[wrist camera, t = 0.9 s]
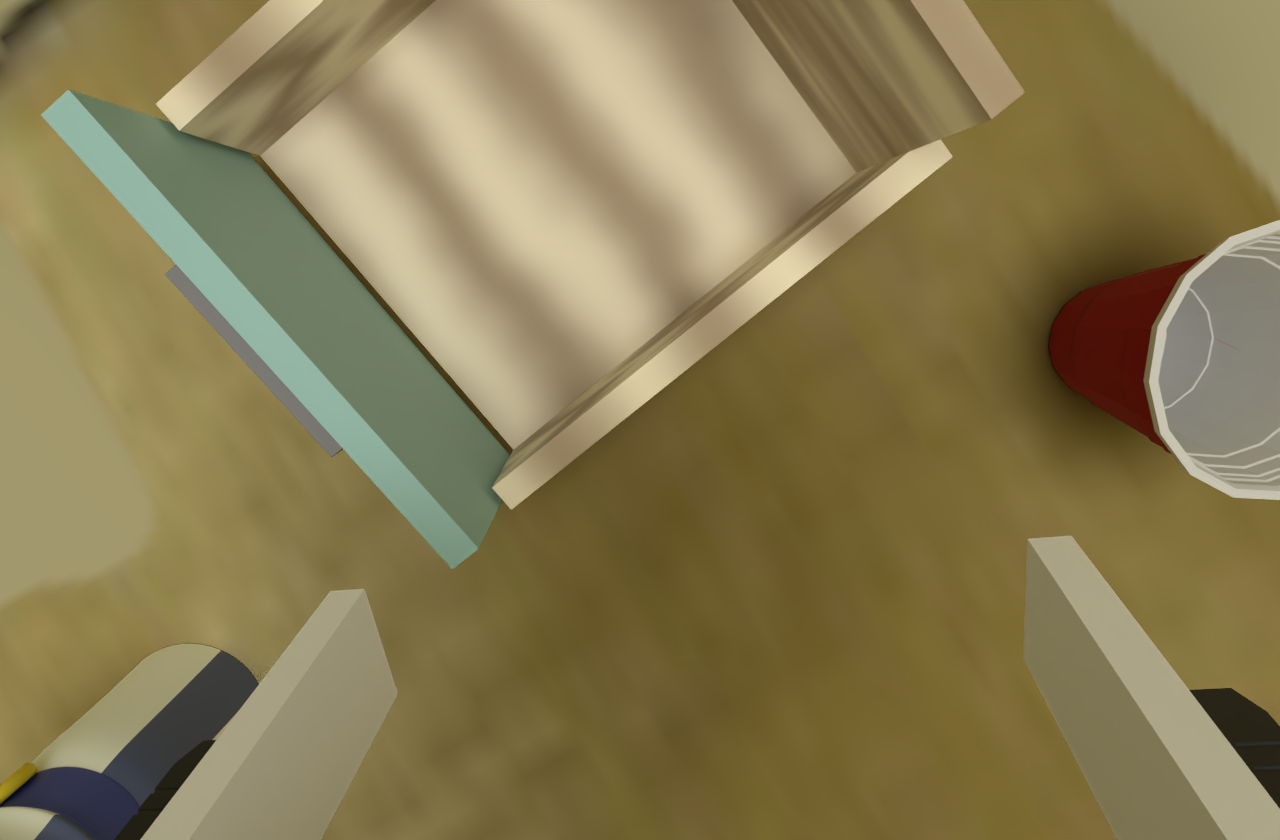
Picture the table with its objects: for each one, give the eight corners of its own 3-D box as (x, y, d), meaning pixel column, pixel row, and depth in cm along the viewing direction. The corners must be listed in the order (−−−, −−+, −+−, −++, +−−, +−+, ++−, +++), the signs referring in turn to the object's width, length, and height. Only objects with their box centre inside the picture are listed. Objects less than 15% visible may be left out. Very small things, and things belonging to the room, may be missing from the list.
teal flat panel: (488, 491, 40) (435, 583, 29) (210, 174, 37) (22, 131, 26) (519, 466, 40) (478, 548, 28) (242, 145, 37) (68, 89, 25)
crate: (535, 454, 43) (483, 573, 26) (269, 143, 40) (19, 56, 23) (872, 183, 41) (1046, 125, 24) (619, -168, 38) (622, -509, 21)
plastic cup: (1239, 376, 43) (1471, 417, 32) (1054, 475, 44) (1213, 551, 32) (1160, 191, 42) (1375, 161, 30) (968, 298, 42) (1104, 309, 31)
